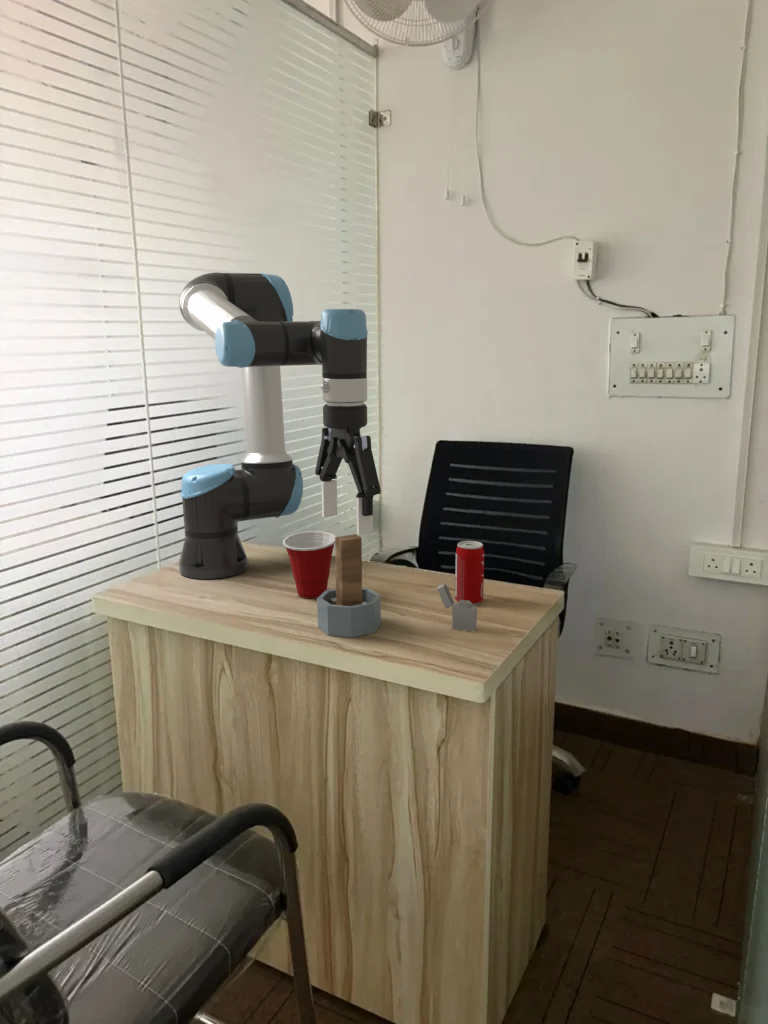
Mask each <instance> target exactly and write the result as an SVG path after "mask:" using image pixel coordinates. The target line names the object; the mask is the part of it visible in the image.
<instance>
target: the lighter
mask: <svg viewBox="0 0 768 1024" xmlns="http://www.w3.org/2000/svg"><path fill="white" fill-rule="evenodd" d="M436 590H437V592H438V595H439V597H440V599H441V602H442V604H443V605H444V608H445V609H449V608H451V607H452V613H451V614H452V615H451V618H452V621H451V625H452V626H451V630H454V629H458V630H457V631H461V630H467V631H466V632H468V631H475V630H476V631H477V629H478V627H477V626H478V625H477V624H478V606H477V605H473V606H472V603H471V602H470V601H467V600H460V601H459V603H455V600H454V598H453V596H452V594H451V591H450V590H449V587H448V585H447V583H446V582H445V583H442V584H439V585H438V586H437V587H436ZM476 631H475V632H476Z"/></svg>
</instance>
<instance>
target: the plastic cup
mask: <svg viewBox="0 0 768 1024" xmlns="http://www.w3.org/2000/svg"><path fill="white" fill-rule="evenodd" d="M335 537H337V536H336V535H335V534H334V533H332V532H327V531H322V530H311V531H310V530H309V531H301V532H297V533H293V534H290V535H288V536H286V537H285V538H284V539H282V545H283V547H284V548H285V549H286V552H287V556H288V557H289V562H290V566H291V567H290V568H291V570H292V576H293V579H294V583H295V588H296V593H297V595H298V597H300V598H302V597H303V599H317V598H318V597H319V596H320V595H321V594H322V593H323V592H324V591H326V590H328V585H329V579H330V572H331V566H332V565H331V564H332V556H333V551H334V549H335Z"/></svg>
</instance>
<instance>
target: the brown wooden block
mask: <svg viewBox="0 0 768 1024" xmlns="http://www.w3.org/2000/svg"><path fill="white" fill-rule="evenodd" d="M362 542H363V541H362V537H361V535H358V534H357V533H356V534H355V533H354V534H349V535H342V536H336V537H335V543H334V549H335V550H334V551H335V555H334V557H335V589H336V605H343V606H347V605H352V604H357V603H361V602H362V588H363V559H362V558H363V557H362V554H363V553H362V551H363V550H362V549H363V547H362V544H363V543H362Z"/></svg>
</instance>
